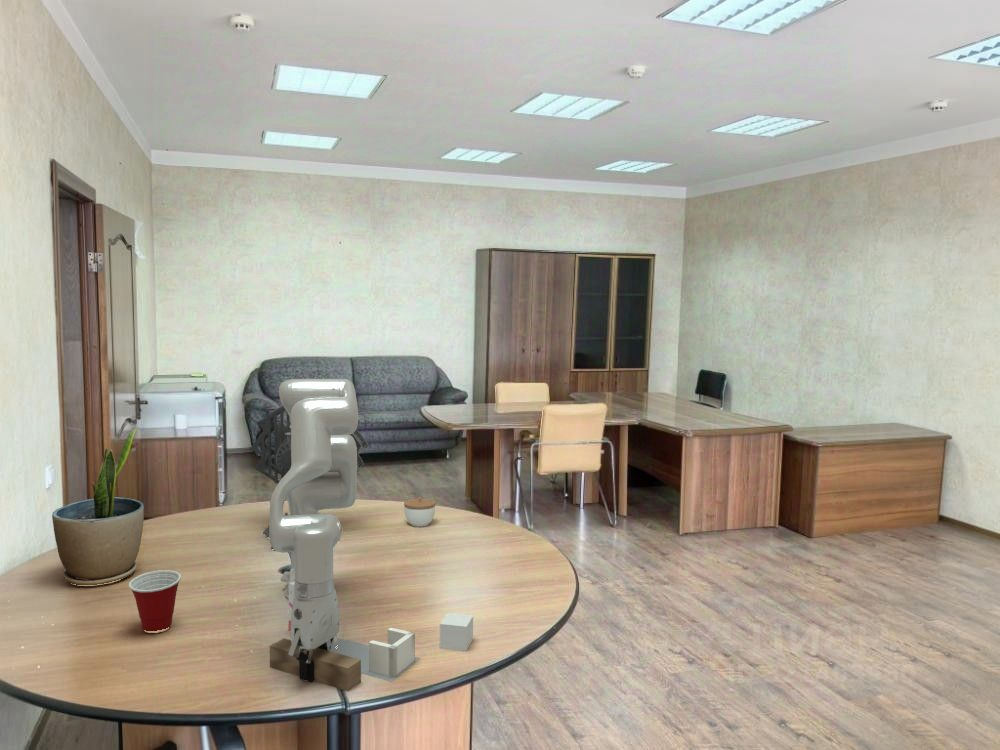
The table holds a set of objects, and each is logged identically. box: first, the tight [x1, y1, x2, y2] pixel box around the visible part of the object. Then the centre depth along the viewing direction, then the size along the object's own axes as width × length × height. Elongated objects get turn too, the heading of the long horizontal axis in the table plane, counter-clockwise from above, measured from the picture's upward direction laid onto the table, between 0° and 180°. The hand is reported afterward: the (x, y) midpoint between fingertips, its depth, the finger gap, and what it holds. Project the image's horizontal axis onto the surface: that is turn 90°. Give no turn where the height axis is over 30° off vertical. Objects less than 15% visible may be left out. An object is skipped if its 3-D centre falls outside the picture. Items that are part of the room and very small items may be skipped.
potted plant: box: [51, 427, 145, 585], centre depth 199 cm, size 21×22×40 cm
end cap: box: [368, 627, 416, 677], centre depth 153 cm, size 6×8×6 cm
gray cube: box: [439, 612, 474, 652], centre depth 164 cm, size 6×6×6 cm
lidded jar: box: [403, 496, 436, 528], centre depth 255 cm, size 11×11×9 cm
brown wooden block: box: [269, 637, 362, 692], centre depth 149 cm, size 20×4×5 cm, turn 63°
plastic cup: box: [128, 569, 182, 631], centre depth 169 cm, size 11×11×12 cm
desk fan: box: [250, 405, 369, 550], centre depth 240 cm, size 34×33×45 cm
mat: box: [330, 637, 421, 682], centre depth 158 cm, size 27×11×1 cm, turn 65°
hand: (314, 674), depth 149 cm, fingers closed on brown wooden block, 4 cm apart
